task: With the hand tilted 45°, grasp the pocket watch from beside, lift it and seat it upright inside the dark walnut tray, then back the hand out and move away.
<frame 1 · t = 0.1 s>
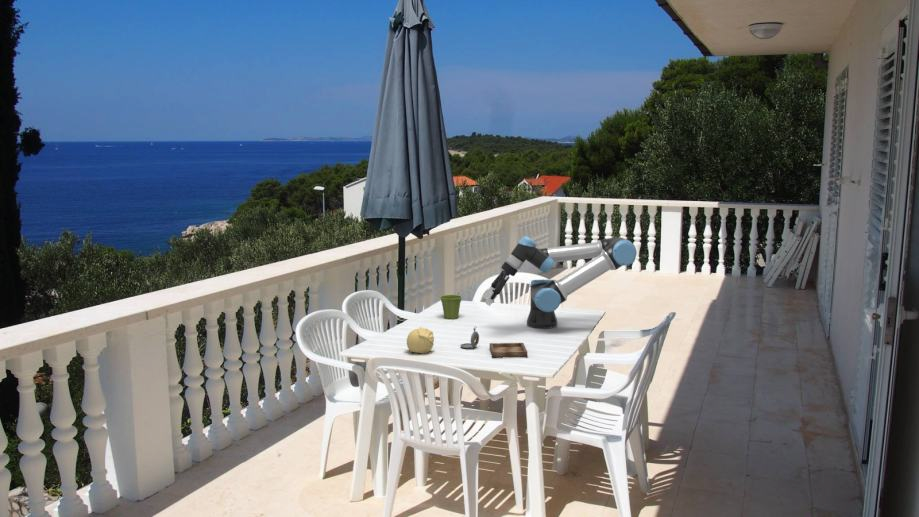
hand: (486, 301, 361), 15 cm above the table, fingers open, 13 cm apart
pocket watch: (470, 348, 337), on the table
plant pot: (451, 318, 396), on the table
walnut tray: (508, 353, 328), on the table
yellow lumpy ball: (420, 352, 331), on the table
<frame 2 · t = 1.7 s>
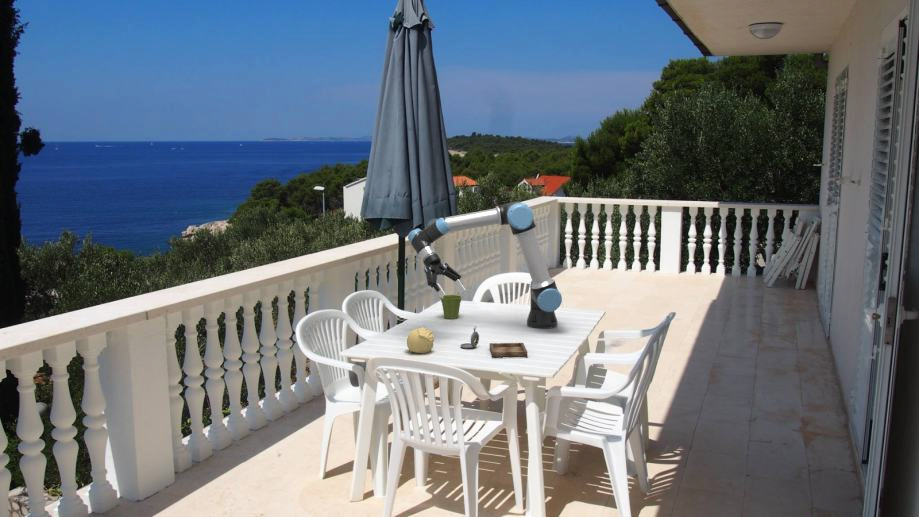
hand: (453, 294, 342), 23 cm above the table, fingers open, 13 cm apart
nothing on the table moved.
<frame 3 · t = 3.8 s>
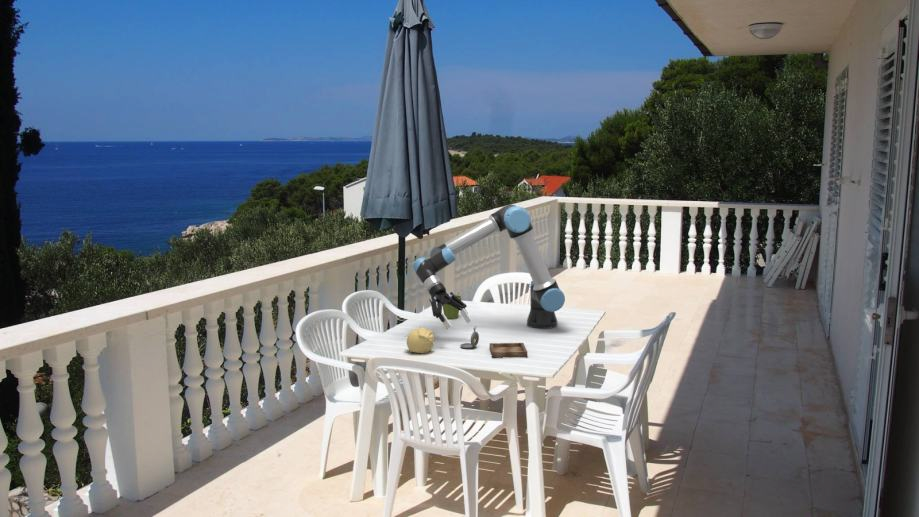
hand: (459, 324, 339), 10 cm above the table, fingers open, 13 cm apart
nothing on the table moved.
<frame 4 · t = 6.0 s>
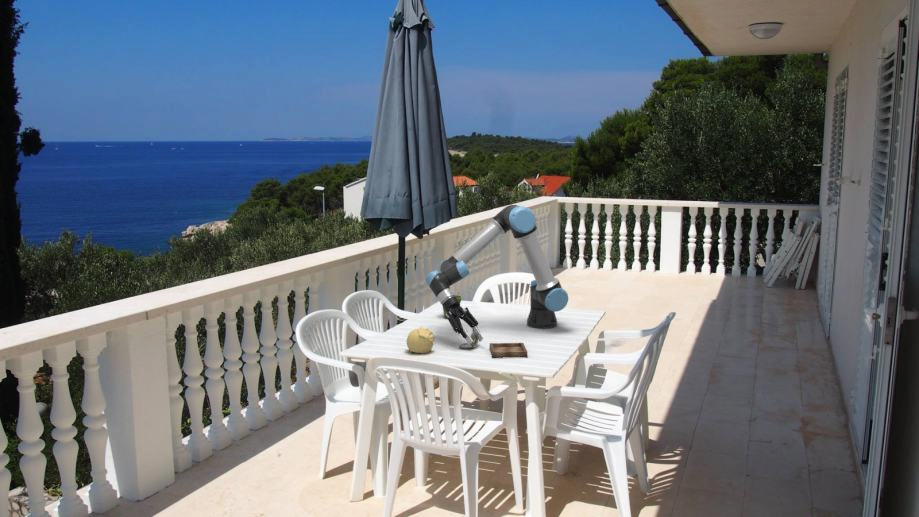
hand: (476, 341, 334), 3 cm above the table, fingers closed on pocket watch, 7 cm apart
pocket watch: (469, 348, 337), on the table, touching gripper
everything else where it was.
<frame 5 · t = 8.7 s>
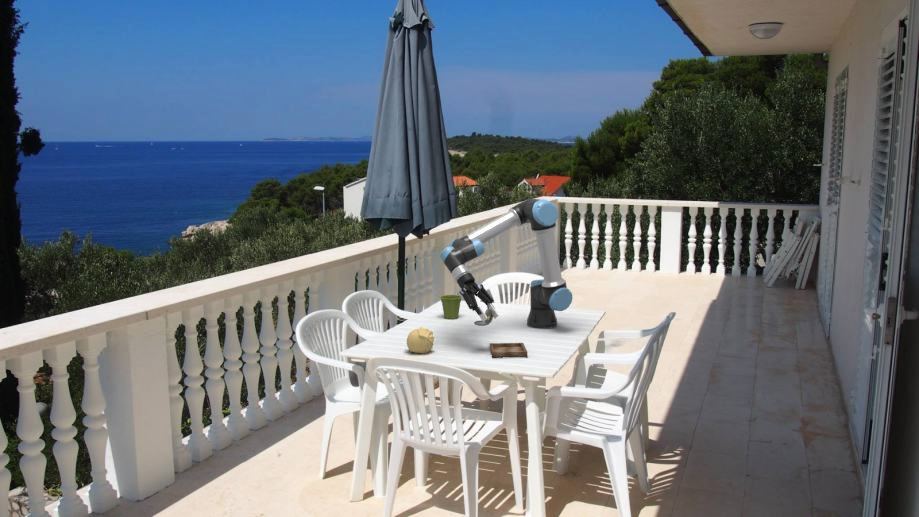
hand: (491, 318, 327), 15 cm above the table, fingers closed on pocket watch, 7 cm apart
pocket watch: (483, 325, 330), point 11 cm above the table, touching gripper
everything else where it was.
when the fingers open (6 cm above the table, at t = 11.5 s): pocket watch drops 1 cm, resting on walnut tray.
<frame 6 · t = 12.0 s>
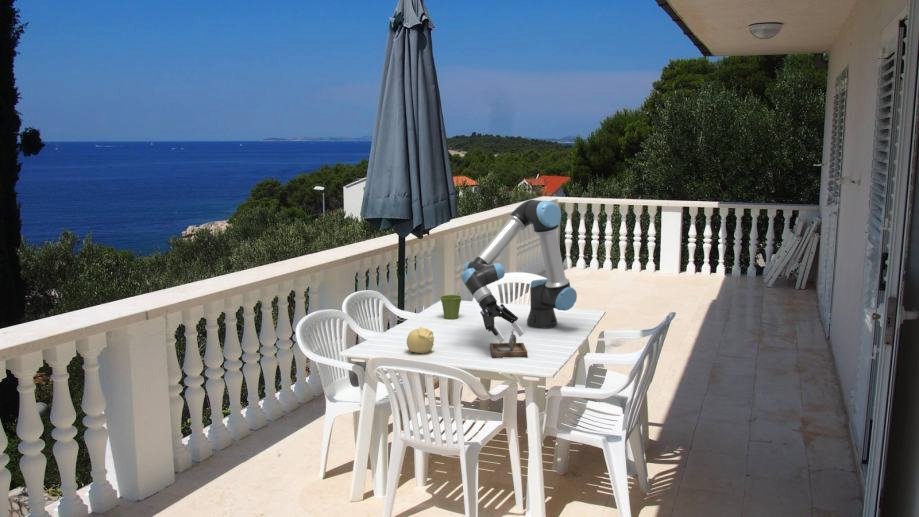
hand: (512, 337, 325), 7 cm above the table, fingers open, 13 cm apart
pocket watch: (507, 351, 327), point 1 cm above the table, touching walnut tray
everything else where it was.
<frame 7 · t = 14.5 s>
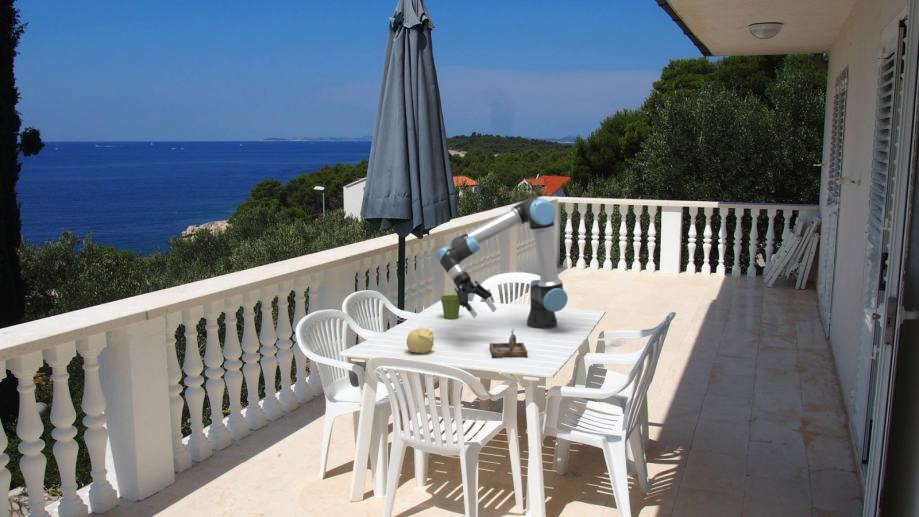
hand: (485, 313, 337), 15 cm above the table, fingers open, 13 cm apart
nothing on the table moved.
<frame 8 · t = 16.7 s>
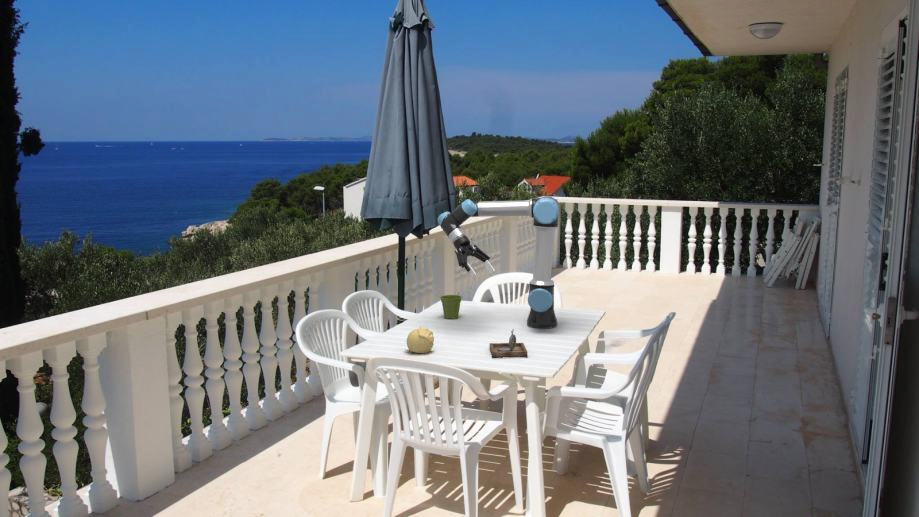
hand: (483, 274, 353), 30 cm above the table, fingers open, 13 cm apart
nothing on the table moved.
at the end: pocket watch 0.6 cm off-centre on the walnut tray, point 0.8 cm above the walnut tray's base; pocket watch tilted 0°; the gripper is holding nothing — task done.
